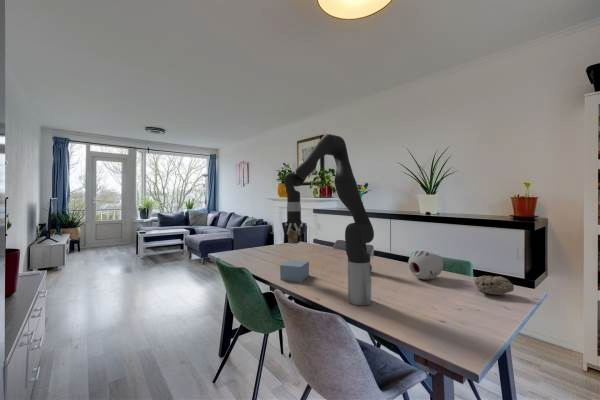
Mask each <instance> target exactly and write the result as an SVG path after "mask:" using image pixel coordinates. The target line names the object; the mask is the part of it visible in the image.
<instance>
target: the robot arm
mask: <svg viewBox="0 0 600 400" xmlns="http://www.w3.org/2000/svg"><path fill="white" fill-rule="evenodd" d="M347 149H348V148H347V145H346V142H345V140H344V138H343V137H342V136H339V135H335V134H327V133H326V134H325V135H323V136H322V137H321V138H320V139H319V141H318V142H317V143H316V145H315V146H314V148H313V149H312V150H311V151H310V153H309V155H307V157H306V158H305V159H304V160H303V161H302V162H301V163H300V164H299V165H298V166H297V167H296V168H295V173H293V172H287V173H286V174H285V175H284V177H283V183H284V188H285V191H286V196H287V199H286V200H287V201H286V202H287V204H286V219H287V220H286V221H285V222H284V221H283V222H281V226H282V230H283V234H286V238H287V241H288V232H290V231H293V230H295V231H297V232H298V242H299V243H300V242H301V241H302V235H304V234H305V233H306V228H307V222H303V221H302V207H301V206H302V205H301V192H300V191H299V190H296V189H295V187H300V186H302V185H303V184H304V183H305V181H306V179H307V178H308V176H309V175H311V174H312V173H313V172H314V171H315V170H316V168H317V165H318V162H319V160H320V159H321V158H323V157H324V156H326V155H328V156H332V158H334V162H335V167H336V171H335V175H334V186H335V187H334V188H335V191H336V193H337V194H336V195H337V197H338V198H339V201H341V203H342V204H343V205H344V206H345V207H346V208H347V209H348V211H349V213H350V214H351V216H352V219H353V222H351V223H348V224H347V225H346V226H345V231H344V243H345V254H346V256H347V288H348V289H347V294H348V295H347V298H348V299H347V301H348V303H350V304H351V305H356V306H371V303H372V277H371V274H372V273H371V272H370V264H371V254H370V253H368V252H367V253H366V252H364V251H363V244H366V245H367V244H370V243H371V242H372V241H373V240H374V238H375V231H374V227H373V224H372V223H371V221H370V217H369V216H368V213H367V211H366V209H365V206H364V203H363V200H362V198H361V194H360V191H359V188H358V184H357V182H356V177H355V176H354V173H353V169H352V165H351V162H350V158H349V154H348V150H347ZM287 226H288V227H287Z"/></svg>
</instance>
